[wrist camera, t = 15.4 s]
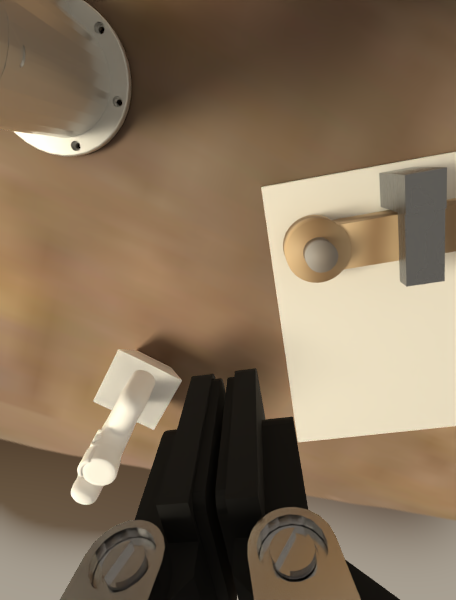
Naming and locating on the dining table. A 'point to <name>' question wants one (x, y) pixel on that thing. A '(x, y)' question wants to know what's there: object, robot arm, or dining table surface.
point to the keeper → (418, 220)
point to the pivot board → (362, 321)
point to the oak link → (349, 242)
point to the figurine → (123, 416)
